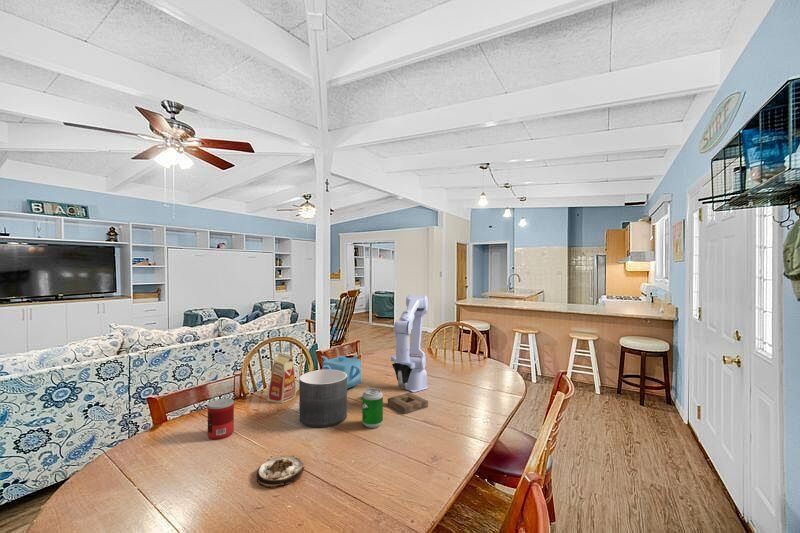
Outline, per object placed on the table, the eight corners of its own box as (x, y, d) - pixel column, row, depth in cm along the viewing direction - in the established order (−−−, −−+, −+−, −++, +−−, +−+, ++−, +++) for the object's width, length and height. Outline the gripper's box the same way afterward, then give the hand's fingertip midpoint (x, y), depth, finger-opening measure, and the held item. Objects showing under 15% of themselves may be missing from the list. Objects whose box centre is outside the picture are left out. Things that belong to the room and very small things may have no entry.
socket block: (409, 398, 154) (409, 392, 154) (428, 406, 145) (428, 400, 145) (387, 404, 147) (387, 398, 147) (405, 414, 138) (405, 407, 138)
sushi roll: (248, 497, 88) (248, 481, 88) (254, 465, 102) (254, 451, 102) (309, 486, 93) (309, 471, 93) (306, 457, 107) (307, 444, 107)
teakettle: (363, 392, 161) (363, 360, 161) (321, 395, 157) (321, 362, 157) (358, 379, 179) (358, 350, 179) (320, 381, 175) (321, 352, 175)
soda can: (384, 420, 132) (384, 388, 132) (381, 429, 124) (381, 395, 124) (364, 419, 133) (364, 387, 133) (360, 428, 125) (360, 394, 125)
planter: (290, 417, 134) (290, 376, 134) (328, 404, 147) (329, 366, 147) (316, 433, 122) (317, 387, 122) (356, 417, 135) (356, 376, 135)
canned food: (238, 431, 123) (238, 399, 123) (220, 442, 115) (220, 408, 115) (221, 427, 125) (221, 397, 125) (202, 438, 118) (202, 405, 118)
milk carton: (267, 400, 150) (267, 354, 150) (282, 393, 159) (282, 349, 159) (284, 404, 147) (284, 356, 147) (298, 396, 155) (298, 351, 155)
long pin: (403, 385, 150) (403, 368, 150) (407, 387, 147) (407, 370, 147) (396, 386, 148) (396, 370, 148) (400, 389, 145) (400, 372, 145)
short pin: (371, 396, 156) (371, 387, 156) (376, 398, 154) (376, 389, 154) (365, 398, 154) (365, 388, 154) (369, 400, 152) (369, 391, 152)
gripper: (385, 347, 151) (384, 378, 151) (405, 354, 139) (405, 388, 139) (398, 345, 155) (398, 375, 155) (419, 351, 143) (419, 384, 143)
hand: (402, 381), depth 148 cm, fingers closed on long pin, 3 cm apart
